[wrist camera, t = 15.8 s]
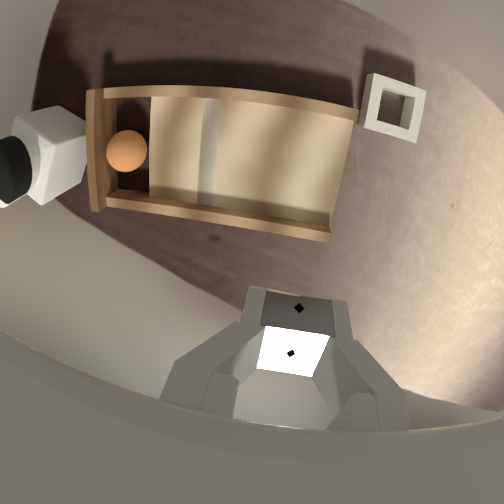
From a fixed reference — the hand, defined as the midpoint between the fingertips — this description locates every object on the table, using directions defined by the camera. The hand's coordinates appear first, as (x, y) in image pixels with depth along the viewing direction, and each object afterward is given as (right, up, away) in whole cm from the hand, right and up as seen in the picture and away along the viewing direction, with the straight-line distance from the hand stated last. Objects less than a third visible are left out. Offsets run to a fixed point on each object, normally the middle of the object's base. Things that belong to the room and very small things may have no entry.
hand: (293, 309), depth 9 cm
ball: (-13, +11, +15) cm, 23 cm away
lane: (-4, +11, +17) cm, 20 cm away
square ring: (+10, +14, +12) cm, 21 cm away
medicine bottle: (-22, +14, +18) cm, 32 cm away
